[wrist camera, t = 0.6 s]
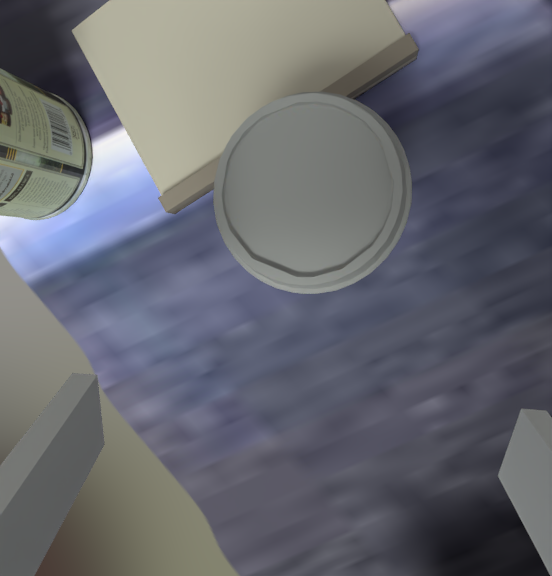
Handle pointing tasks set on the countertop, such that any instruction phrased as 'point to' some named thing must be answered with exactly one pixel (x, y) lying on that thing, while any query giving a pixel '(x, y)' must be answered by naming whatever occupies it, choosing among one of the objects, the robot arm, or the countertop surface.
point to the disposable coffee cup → (312, 192)
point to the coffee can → (39, 151)
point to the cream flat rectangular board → (228, 70)
